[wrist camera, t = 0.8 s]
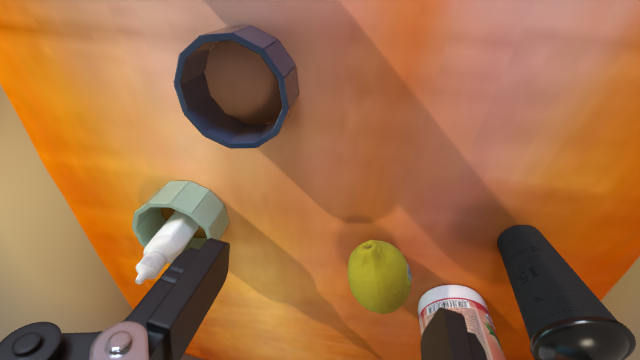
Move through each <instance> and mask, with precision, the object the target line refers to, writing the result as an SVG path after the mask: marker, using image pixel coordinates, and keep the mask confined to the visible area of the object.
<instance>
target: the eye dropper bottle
mask: <svg viewBox="0 0 640 360" xmlns="http://www.w3.org/2000/svg"><path fill="white" fill-rule="evenodd" d="M199 227H200V225H199V224H197V223H196V222H195V221H194V220H193V219H192V218H191V217H190V216H188V215H186V214H184V213H181V212H179V211H177V210H176V211H175V212H174V213H173V215H172V216H171V217H170V218H169V219H168V220H167V222H166V223H165V224H164V225H163V226H162V227H161V229H160V230H159V231H158V232H157V233H156V235H155V236H154V237H153V238H152V239H151V241H150V242H149V243H148V244H147V246H146V247H145V249H144V257H143V258H142V260H141V261H140V262H139V263H138V264H137V266H136V271H137V273H138V276H137V278H136V280H135V282H136V283H137V284H142V283H143V282H144V281H145V280H146V279H154V278H156V277H157V276H158V274H159V273H160V271H161V270H162V269H163V267H164V266H165V264H167V263H169V262H171V261H173V260H174V259H175V258H176V257H177V256H178V255H179V254H180V253H181V252H182V251H183V249H184V248H185V247H186V245H187V244H188V242H189V241H190V240H191V238H192V237H193V235H194V234H195V233H196V231H197V230H198V228H199Z"/></svg>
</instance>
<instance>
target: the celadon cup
mask: <svg viewBox="0 0 640 360" xmlns="http://www.w3.org/2000/svg"><path fill="white" fill-rule="evenodd" d="M160 207H169V208H172V209H174V210H177V211H179V212H181V213H184V214H186V215H188V216H190V217H191V218H192V219H193V220H194V221H195V222H196V223H197V224H199V225H200V226H201V227H202V228H203V229H204V230H205V233H206V236H207V238H194V237H192V238H191V240H190V241H189V242H188V244H187V245H186V247H185V248H184V249H183V251H182V252H181V253H183V252H184V251H186V250H188V249H189V248H191V247H192V248H195V249H199V250H200V248H201V247H202V246H203V244H204V243H205V242H206V240H207V239H208V238H213V239H217V240H220V241H221V239H222V238H223V236H224V234H225V232H226V229H227V227H228V224H229V217H228V214H227V211H226V207H225V205H224V204H223V203H222V202H221V201H220V200H219V199H218V198H217V196H216V195H215V194H214V193H213V192H212V191H211V190H209V189H207V188H205V187H202V186H200V185H198V184H196V183H194V182H191V181H169V182H168V183H166V184H165V185H163V186H162V187H161V188H159V189H158V190H157V191H156V192H155V193H154V194H153V195H151V196H150V197H149V198H148V199H147V200H146V201H145V202H144V203H143V204H142V205H141V206H140V207H139V208H138V209H137V210H136V211H135V212H134V217H133V223H132V229H133V231H134V233H135V235H136V237H137V239H138V240H139V242H140V244H141V245H142V246H143V247H146V246H147V244H148V243H149V242H150V241H151V239H152V238H153V237H154V236H155V235H156V233H157V232H158V231H159V230H160V229H161V227H162V226H163V225H164V224H165V223H166V222H167V221H166V220H165V218H164V216H163V214H162V211H161V209H160ZM181 253H180V254H181ZM174 260H175V259H174ZM174 260H173V261H174ZM173 261H171V262H169V263H172V262H173Z"/></svg>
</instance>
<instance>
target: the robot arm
mask: <svg viewBox="0 0 640 360" xmlns="http://www.w3.org/2000/svg"><path fill="white" fill-rule="evenodd" d="M229 249H230V244H229V243H227V242H224V241H220V240H217V239H213V238H208V239H207V240H206V242H205V243H204V244H203V246H202V247H201V248H200V250H199V249H195V248H192V247H191V248H189V249H188V250H186V251H184V252H183V253H181V254H179V255H178V256H177V257H176V258H175V260H174V261H173V262H172V263H171V265H170V266H169V268H168V269H166V271H165V272H164V273H163V274H162V276H161V278H160V279H158V281H157V282H156V283H155V284H154V285H153V287H152V288H151V289H150V290H149V292H148V293H147V294H146V295H145V296H144V298H143V299H142V300H141V301H140V303H139V304H138V305H137V306H136V308H135V309H134V310H133V311H132V313H131V314H130V315H129V316H128V317H127V318H126V319H125V320H124V321H122V322H120V323H117V324H114V325H112V326H110V327H108V328H107V329H105V330H104V331H100V332H93V333H61V331H60V328H59V327H58V326H57V325H55V324H53V323H50V322H37V323H32V324H29V325H26V326H23V327H21V328H19V329H17V330H15V331H14V332H12V333H11V334H9V335H8V336H7V337H6V338H4V339H3V340H2V341H1V342H0V360H180V359H181V357H182V356H183V354H184V352H185V350H186V349H187V347H188V345H189V343H190V342H191V340H192V338H193V337H194V335H195V333H196V331H197V330H198V328H199V326H200V324H201V323H202V321H203V319H204V317H205V316H206V314H207V312H208V310H209V309H210V307H211V305H212V304H213V302H214V300H215V298H216V297H217V295H218V293H219V291H220V290H221V288H222V286H223V284H224V282H225V279H226V277H227V273H228V264H229ZM421 359H422V360H487V357H486V353H485V349H484V348H483V346H482V344H481V343H480V341H479V339H478V338H477V336H476V334H475V333H471V332H468V330H467V326H466V321H465V318H464V316H463V314H462V313H459V312H455V311H452V310H449V309H445V308H442V307H440V308H438V310H437V311H436V313H435V314H434V316H433V317H432V319H431V320H430V322H429V323H428V325H427V326H426V328H425V329H424V331H423V334H422V337H421Z"/></svg>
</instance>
